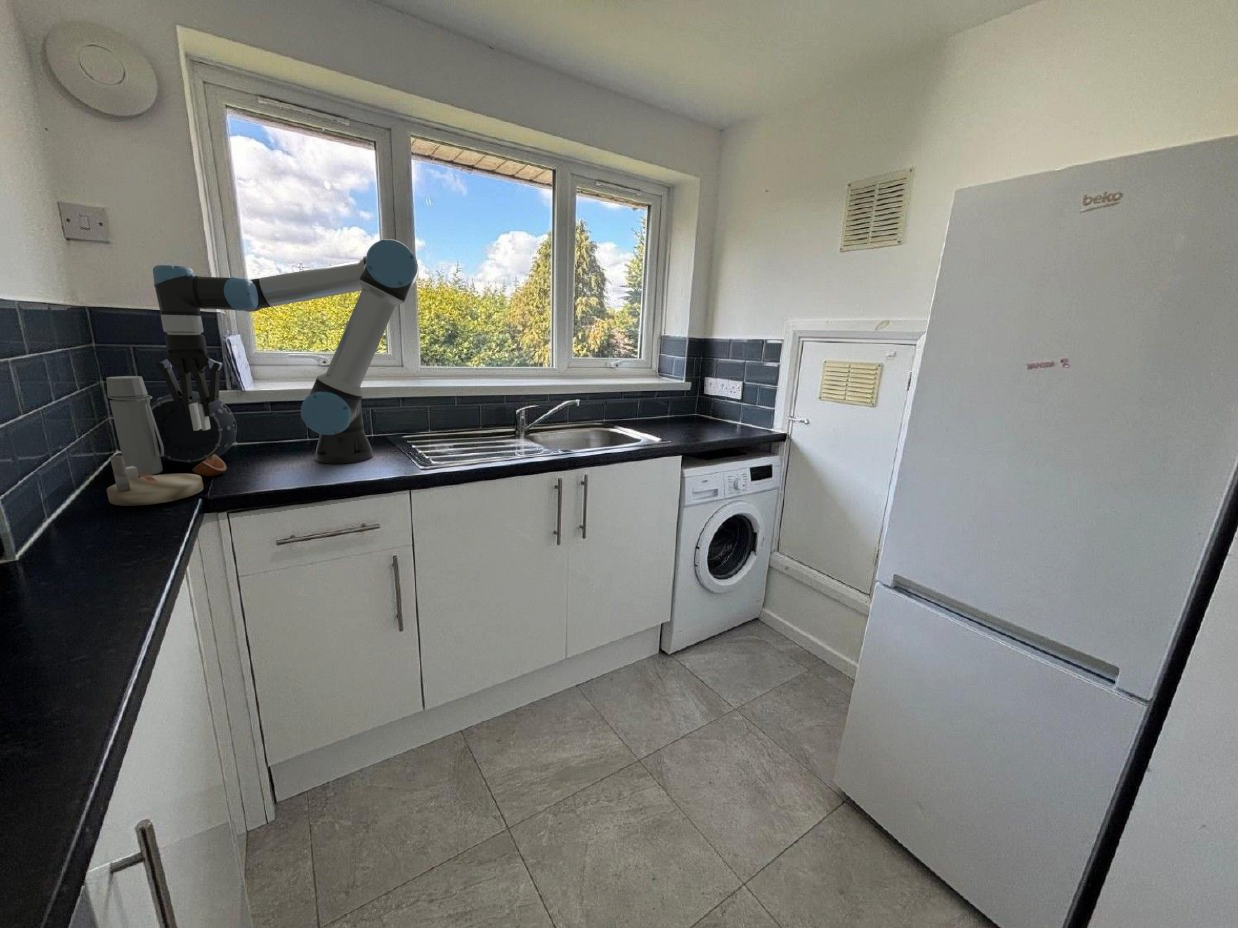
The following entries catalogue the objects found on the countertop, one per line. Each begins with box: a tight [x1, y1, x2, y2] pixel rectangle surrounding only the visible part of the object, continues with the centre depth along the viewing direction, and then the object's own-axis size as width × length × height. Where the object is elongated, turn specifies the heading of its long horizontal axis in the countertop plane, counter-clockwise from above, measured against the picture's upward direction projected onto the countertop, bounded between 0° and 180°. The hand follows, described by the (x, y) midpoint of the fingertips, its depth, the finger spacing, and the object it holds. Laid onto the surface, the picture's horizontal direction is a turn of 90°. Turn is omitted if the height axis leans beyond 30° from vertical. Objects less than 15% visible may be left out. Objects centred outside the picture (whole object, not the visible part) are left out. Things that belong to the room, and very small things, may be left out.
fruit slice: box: [192, 454, 228, 477], centre depth 133 cm, size 8×7×5 cm
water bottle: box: [106, 375, 165, 476], centre depth 130 cm, size 9×8×25 cm
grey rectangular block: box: [126, 466, 139, 480], centre depth 121 cm, size 2×2×5 cm
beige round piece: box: [106, 455, 204, 507], centre depth 115 cm, size 16×19×10 cm
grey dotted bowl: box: [150, 391, 238, 465], centre depth 143 cm, size 11×20×20 cm, turn 107°
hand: (202, 429), depth 130 cm, fingers closed
